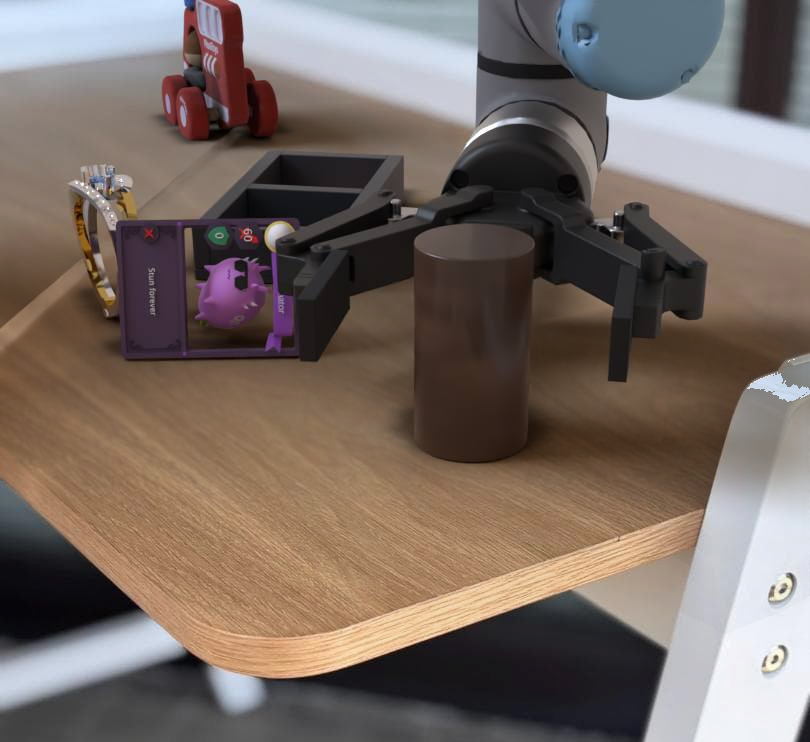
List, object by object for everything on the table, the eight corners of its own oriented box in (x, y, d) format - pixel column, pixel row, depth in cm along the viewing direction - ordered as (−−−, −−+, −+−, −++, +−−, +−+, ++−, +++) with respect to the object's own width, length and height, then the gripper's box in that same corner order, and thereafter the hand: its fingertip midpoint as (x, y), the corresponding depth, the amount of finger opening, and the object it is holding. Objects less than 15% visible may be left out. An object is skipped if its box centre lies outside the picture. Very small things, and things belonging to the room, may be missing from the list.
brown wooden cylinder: (404, 458, 65) (404, 256, 60) (424, 411, 69) (424, 220, 65) (520, 467, 64) (527, 263, 59) (532, 419, 68) (540, 226, 64)
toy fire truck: (240, 110, 122) (232, -26, 117) (286, 145, 111) (280, -2, 106) (156, 118, 119) (144, -20, 114) (195, 155, 109) (184, 5, 104)
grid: (194, 279, 85) (190, 226, 84) (271, 196, 100) (269, 149, 98) (349, 288, 84) (348, 234, 82) (404, 202, 98) (403, 155, 97)
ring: (68, 300, 82) (51, 154, 78) (125, 291, 83) (111, 147, 80) (100, 342, 77) (83, 188, 73) (160, 333, 78) (147, 180, 74)
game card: (112, 219, 73) (298, 217, 73) (128, 224, 78) (302, 222, 78) (119, 359, 74) (302, 356, 74) (134, 355, 79) (305, 352, 79)
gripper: (747, 273, 79) (757, 446, 60) (299, 249, 83) (179, 405, 64) (763, 130, 75) (778, 267, 57) (294, 112, 79) (164, 234, 60)
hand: (460, 340), depth 60 cm, fingers open, 12 cm apart
